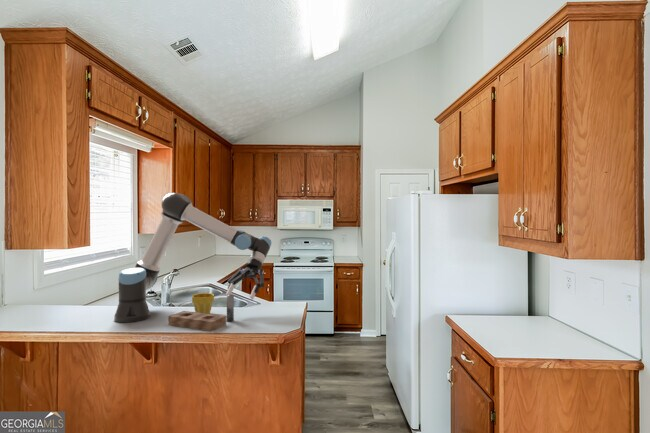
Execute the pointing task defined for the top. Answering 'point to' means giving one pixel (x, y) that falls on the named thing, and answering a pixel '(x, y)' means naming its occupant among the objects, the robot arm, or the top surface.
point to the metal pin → (230, 308)
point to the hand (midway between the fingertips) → (239, 296)
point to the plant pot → (203, 302)
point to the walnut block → (197, 320)
